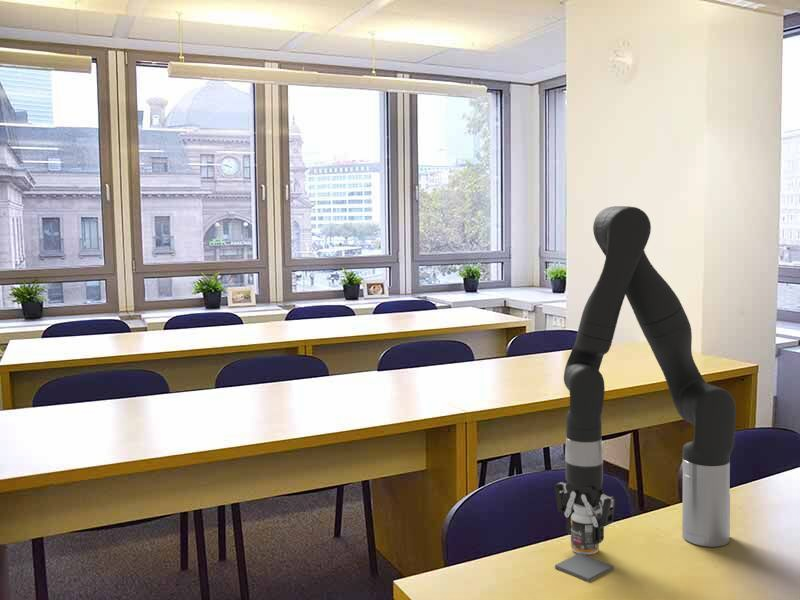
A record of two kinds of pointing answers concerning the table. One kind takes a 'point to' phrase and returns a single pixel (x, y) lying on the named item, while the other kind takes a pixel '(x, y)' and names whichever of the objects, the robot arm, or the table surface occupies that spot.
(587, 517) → the pill bottle
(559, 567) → the coaster
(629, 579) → the table surface
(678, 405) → the robot arm
